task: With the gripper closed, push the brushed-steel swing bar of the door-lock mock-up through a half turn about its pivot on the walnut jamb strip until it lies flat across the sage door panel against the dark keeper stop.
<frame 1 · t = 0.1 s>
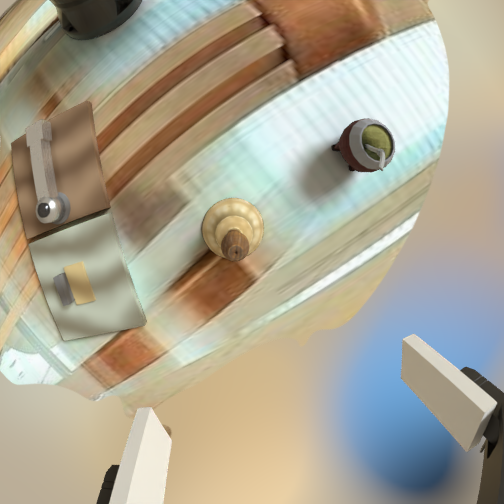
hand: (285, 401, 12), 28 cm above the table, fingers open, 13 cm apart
door board: (67, 226, 36), on the table
mate gourd: (349, 153, 38), on the table
hand bell: (233, 228, 39), on the table
swing bar: (42, 171, 30), point 4 cm above the table, hinge at 180.0°
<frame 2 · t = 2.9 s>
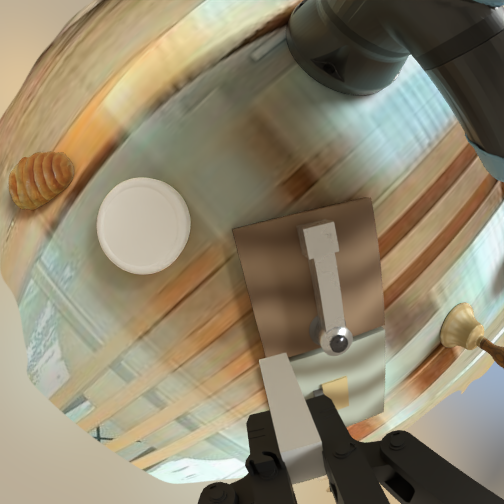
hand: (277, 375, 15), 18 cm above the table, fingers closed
door board: (326, 342, 35), on the table
hand bell: (456, 324, 38), on the table
swing bar: (327, 293, 29), point 4 cm above the table, hinge at 180.0°
coaster: (147, 223, 30), on the table
pastry: (44, 178, 28), on the table
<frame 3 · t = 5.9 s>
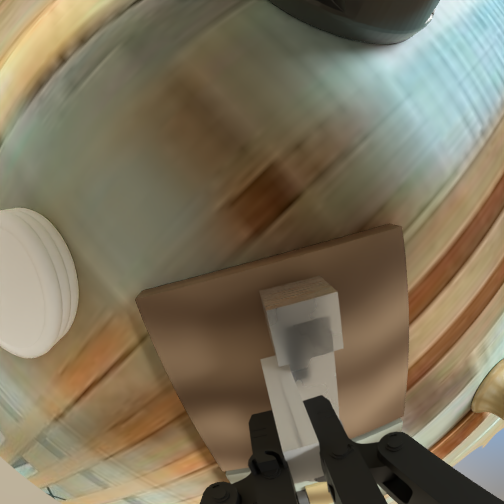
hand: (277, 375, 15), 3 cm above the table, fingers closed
door board: (313, 441, 20), on the table
hand bell: (491, 384, 23), on the table
swing bar: (315, 407, 14), point 4 cm above the table, hinge at 178.2°, touching gripper
coaster: (29, 276, 16), on the table
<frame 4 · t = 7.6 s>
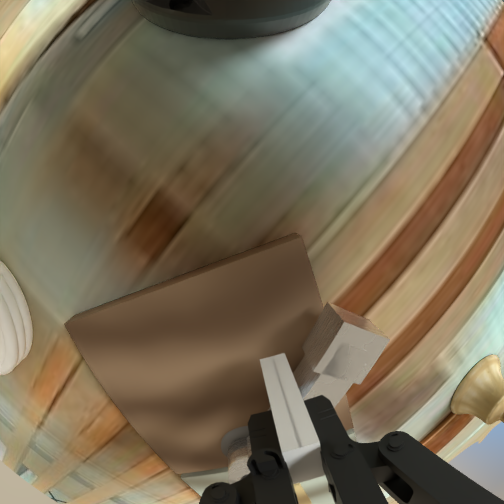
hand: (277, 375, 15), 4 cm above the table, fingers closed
door board: (261, 449, 20), on the table
hand bell: (474, 384, 22), on the table
swing bar: (293, 421, 15), point 4 cm above the table, hinge at 134.5°, touching gripper
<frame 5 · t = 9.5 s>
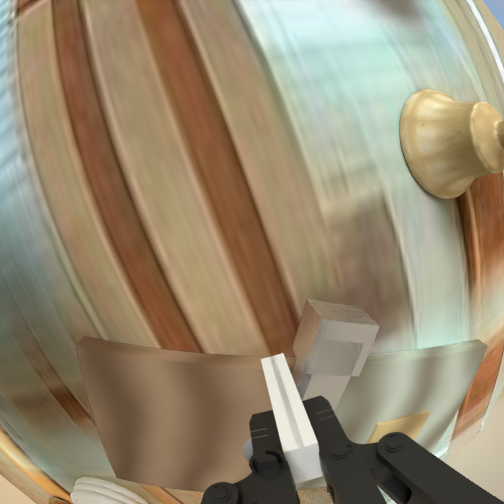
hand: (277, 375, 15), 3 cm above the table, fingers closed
door board: (305, 433, 20), on the table
hand bell: (440, 143, 16), on the table
swing bar: (302, 422, 15), point 4 cm above the table, hinge at 83.4°, touching gripper
coaster: (113, 494, 22), on the table
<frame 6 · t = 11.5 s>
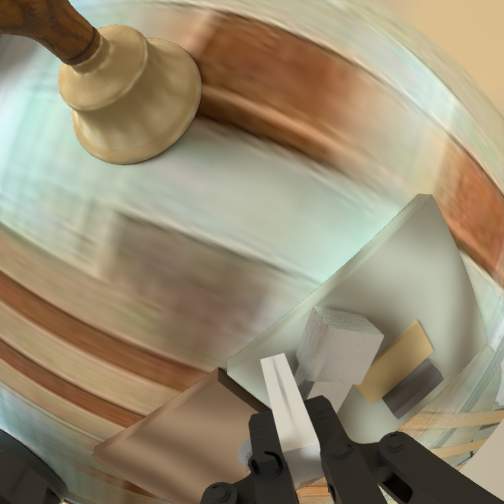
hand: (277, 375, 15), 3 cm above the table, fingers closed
door board: (295, 420, 19), on the table
hand bell: (133, 97, 14), on the table
swing bar: (300, 427, 15), point 4 cm above the table, hinge at 34.0°, touching gripper
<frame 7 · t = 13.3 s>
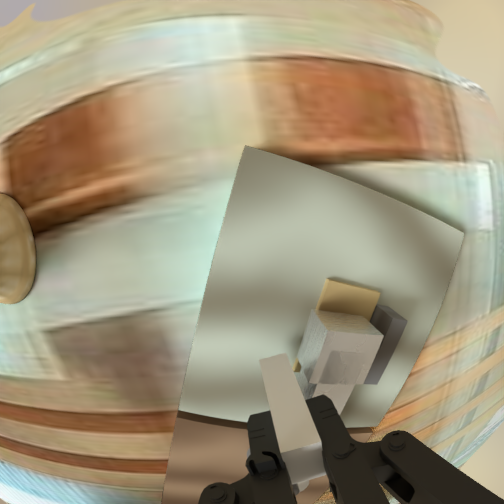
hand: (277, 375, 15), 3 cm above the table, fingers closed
door board: (285, 415, 19), on the table
hand bell: (1, 249, 15), on the table
swing bar: (306, 428, 15), point 4 cm above the table, hinge at 3.6°
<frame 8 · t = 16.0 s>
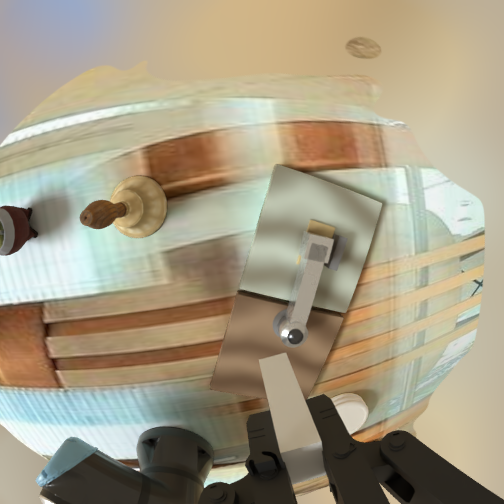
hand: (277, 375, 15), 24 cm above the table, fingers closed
door board: (293, 300, 40), on the table
mate gourd: (27, 224, 34), on the table
hand bell: (138, 206, 36), on the table
swing bar: (304, 292, 36), point 4 cm above the table, hinge at 3.6°
coaster: (338, 410, 46), on the table
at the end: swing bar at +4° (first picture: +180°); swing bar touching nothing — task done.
